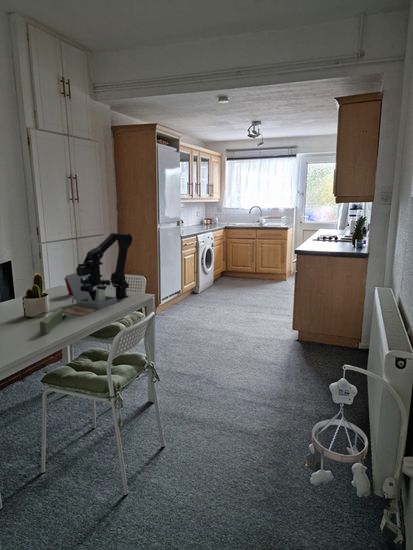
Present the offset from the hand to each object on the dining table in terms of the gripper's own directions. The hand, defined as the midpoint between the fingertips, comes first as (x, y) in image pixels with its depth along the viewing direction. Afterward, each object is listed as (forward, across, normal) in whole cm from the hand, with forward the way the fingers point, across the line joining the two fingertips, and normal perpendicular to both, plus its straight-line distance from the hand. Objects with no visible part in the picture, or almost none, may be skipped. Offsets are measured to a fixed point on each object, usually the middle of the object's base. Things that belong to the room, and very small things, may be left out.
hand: (97, 299), depth 212 cm
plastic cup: (+3, -11, -29) cm, 31 cm away
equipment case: (+3, 0, -3) cm, 4 cm away
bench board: (+3, +14, 0) cm, 15 cm away
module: (+2, 0, 0) cm, 2 cm away
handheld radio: (+3, +36, +6) cm, 37 cm away
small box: (+3, +28, -17) cm, 33 cm away
